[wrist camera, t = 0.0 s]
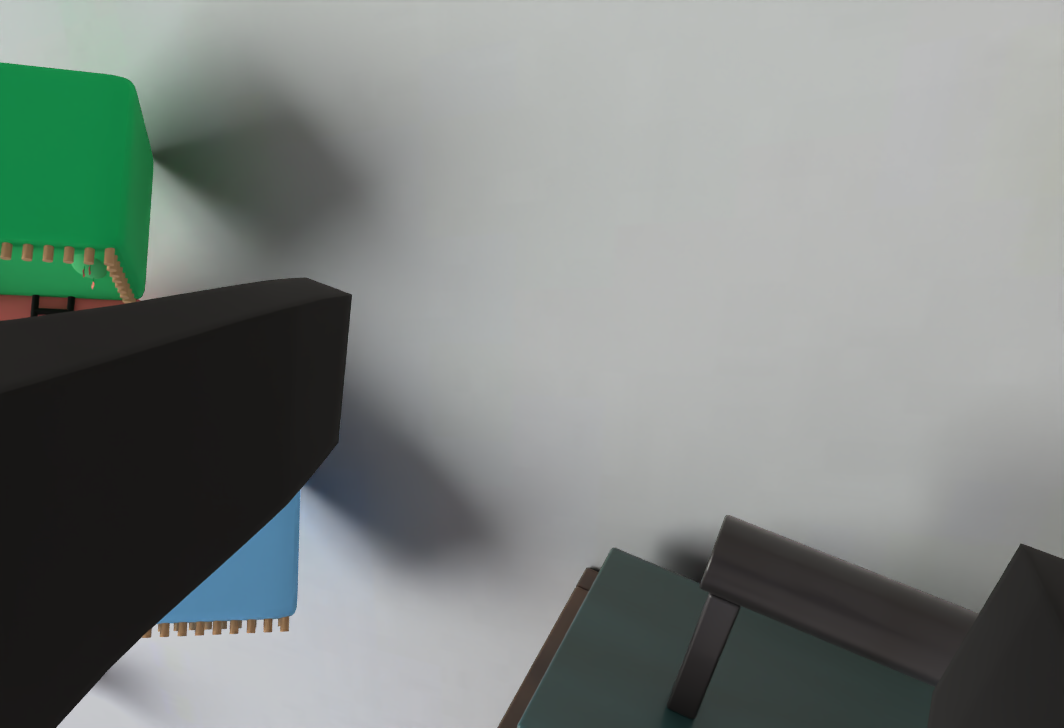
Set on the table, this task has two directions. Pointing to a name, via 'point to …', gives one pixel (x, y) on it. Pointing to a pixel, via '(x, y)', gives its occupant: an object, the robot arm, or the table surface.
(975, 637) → the robot arm
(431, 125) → the table surface
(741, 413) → the table surface
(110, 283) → the building blocks
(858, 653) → the drawer
